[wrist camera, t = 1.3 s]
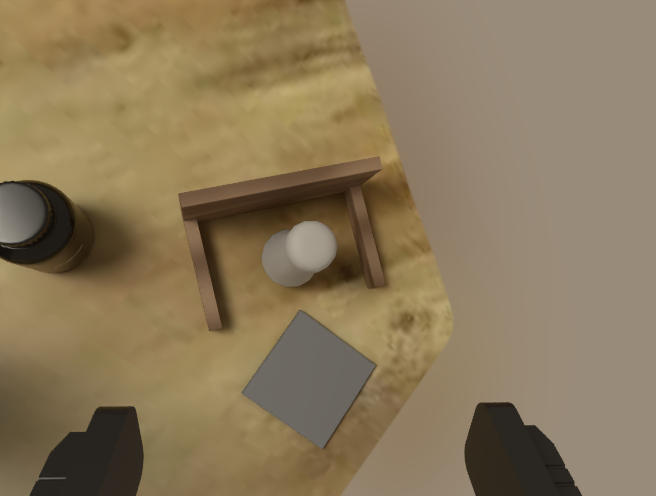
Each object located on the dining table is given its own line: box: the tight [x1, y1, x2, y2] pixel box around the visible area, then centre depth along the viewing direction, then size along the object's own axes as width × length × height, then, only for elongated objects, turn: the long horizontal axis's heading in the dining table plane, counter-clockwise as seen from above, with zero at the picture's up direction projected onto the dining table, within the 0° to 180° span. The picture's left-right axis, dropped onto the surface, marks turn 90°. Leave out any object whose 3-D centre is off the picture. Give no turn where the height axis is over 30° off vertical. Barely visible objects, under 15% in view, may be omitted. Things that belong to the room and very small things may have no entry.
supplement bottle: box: [0, 180, 94, 273], centre depth 41 cm, size 7×7×12 cm
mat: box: [242, 310, 376, 449], centre depth 51 cm, size 10×10×1 cm
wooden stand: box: [178, 157, 385, 331], centre depth 48 cm, size 12×18×9 cm, turn 105°
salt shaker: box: [261, 221, 337, 287], centre depth 46 cm, size 6×6×13 cm
